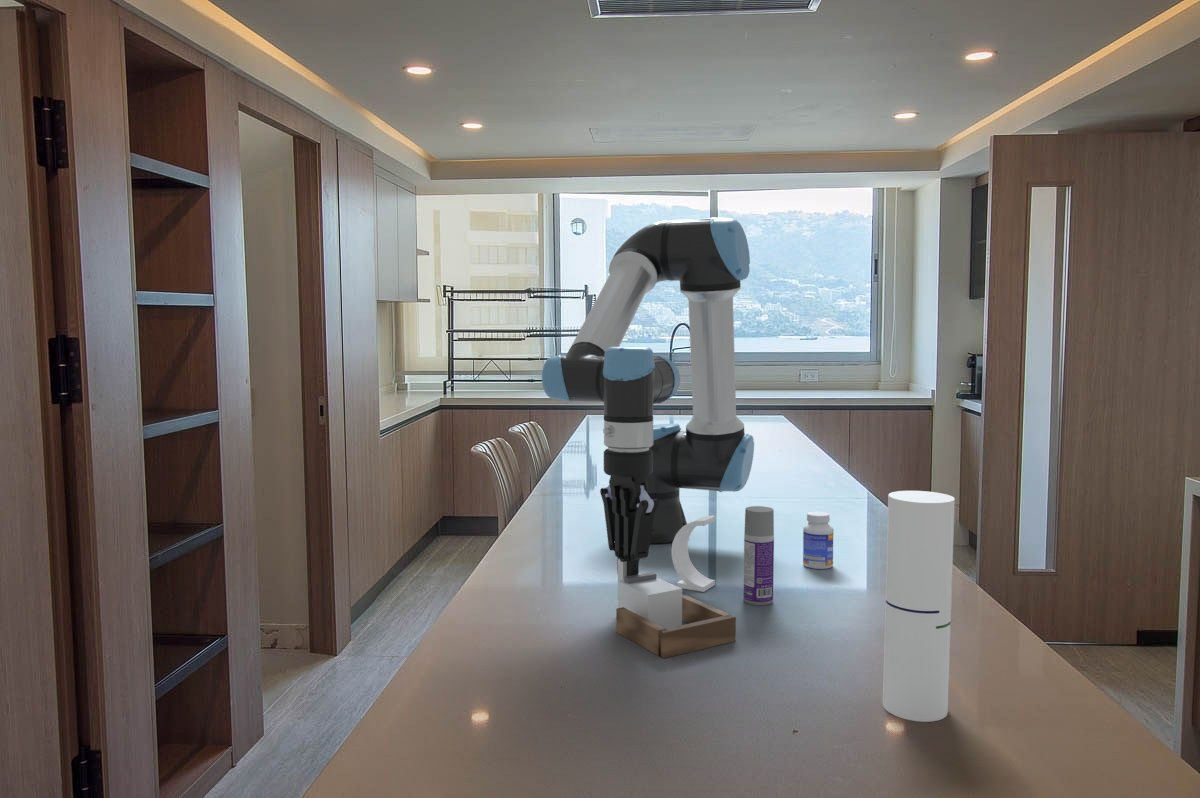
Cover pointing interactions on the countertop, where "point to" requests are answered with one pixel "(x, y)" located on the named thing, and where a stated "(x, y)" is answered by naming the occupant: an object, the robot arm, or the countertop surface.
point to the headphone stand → (683, 562)
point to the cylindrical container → (918, 604)
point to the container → (758, 555)
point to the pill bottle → (818, 541)
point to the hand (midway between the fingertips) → (627, 599)
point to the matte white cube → (651, 599)
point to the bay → (679, 629)
